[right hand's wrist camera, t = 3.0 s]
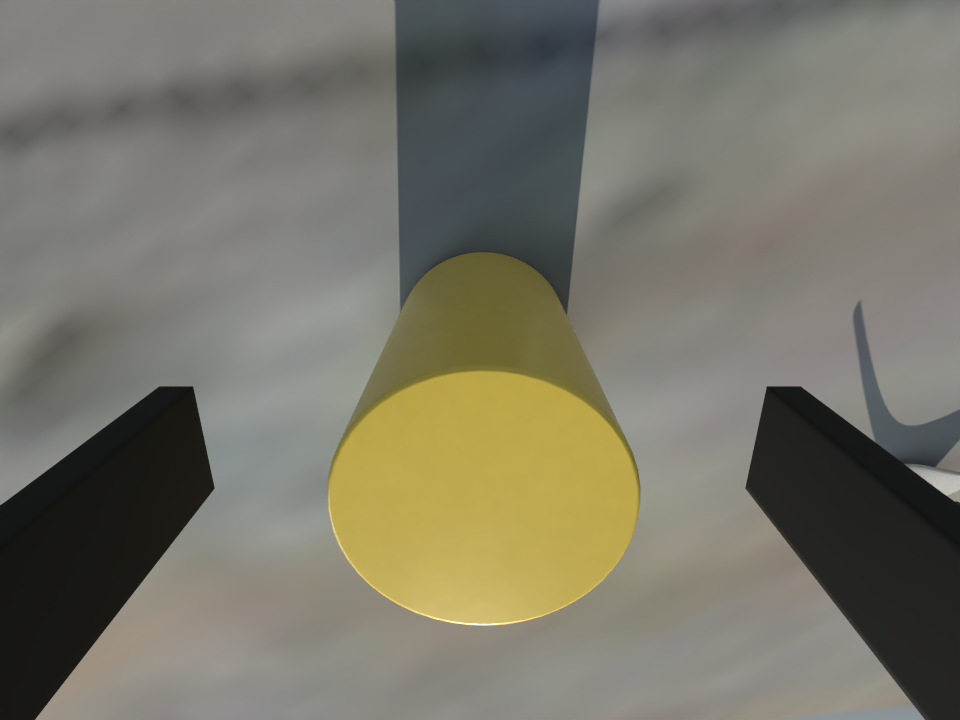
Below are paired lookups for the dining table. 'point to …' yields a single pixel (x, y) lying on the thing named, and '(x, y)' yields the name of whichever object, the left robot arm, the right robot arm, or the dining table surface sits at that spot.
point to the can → (483, 454)
